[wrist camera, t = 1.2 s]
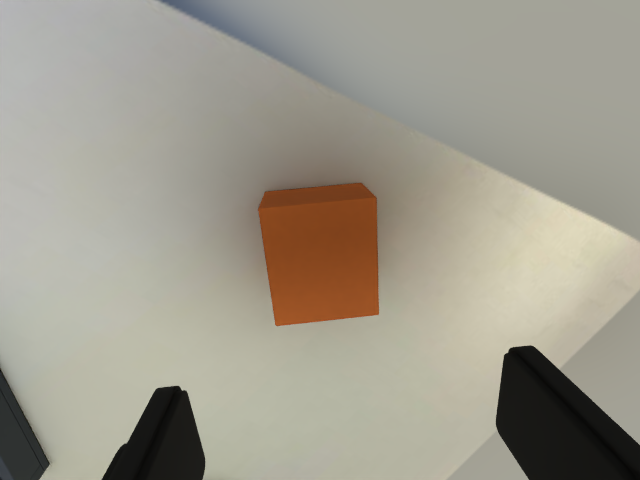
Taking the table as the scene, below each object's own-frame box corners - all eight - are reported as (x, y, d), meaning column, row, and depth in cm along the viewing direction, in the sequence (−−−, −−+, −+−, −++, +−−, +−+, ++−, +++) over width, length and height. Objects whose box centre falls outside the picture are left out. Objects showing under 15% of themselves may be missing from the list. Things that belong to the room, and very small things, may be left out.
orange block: (264, 191, 20) (258, 208, 17) (361, 182, 21) (376, 196, 17) (278, 292, 23) (275, 326, 19) (365, 283, 23) (379, 315, 19)
